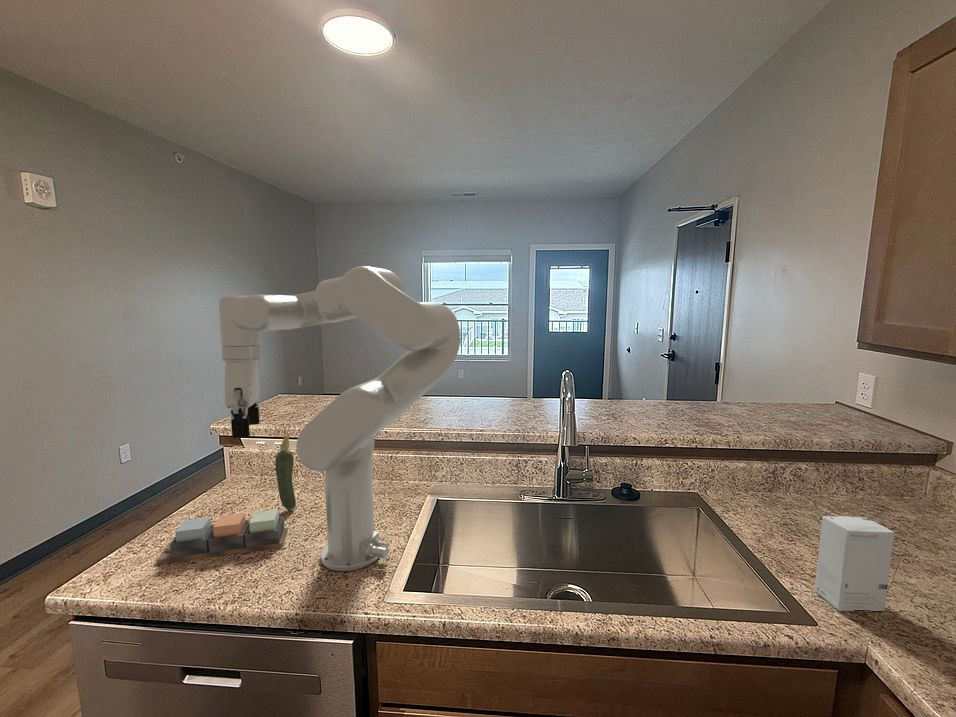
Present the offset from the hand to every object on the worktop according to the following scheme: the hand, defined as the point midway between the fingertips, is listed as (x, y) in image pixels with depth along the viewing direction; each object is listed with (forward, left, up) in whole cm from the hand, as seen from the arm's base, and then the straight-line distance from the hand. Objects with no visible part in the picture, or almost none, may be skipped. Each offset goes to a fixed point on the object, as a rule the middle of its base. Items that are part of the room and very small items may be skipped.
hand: (246, 430), depth 95 cm
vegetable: (+3, -14, -26) cm, 29 cm away
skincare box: (-118, -21, -26) cm, 122 cm away
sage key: (-3, 0, -23) cm, 24 cm away
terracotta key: (+2, +4, -23) cm, 24 cm away
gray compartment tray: (+2, +4, -26) cm, 26 cm away
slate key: (+8, +8, -23) cm, 26 cm away
